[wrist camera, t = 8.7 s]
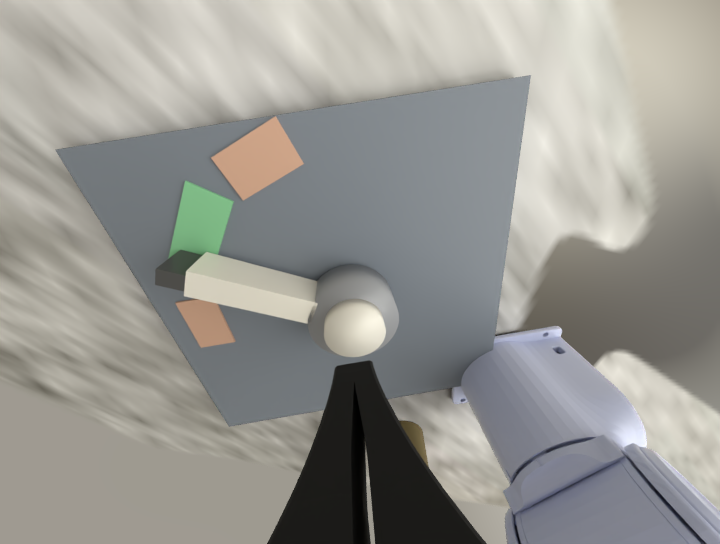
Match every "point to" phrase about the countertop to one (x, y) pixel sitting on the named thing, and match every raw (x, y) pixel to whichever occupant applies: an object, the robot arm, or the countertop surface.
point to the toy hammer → (294, 298)
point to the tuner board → (324, 232)
